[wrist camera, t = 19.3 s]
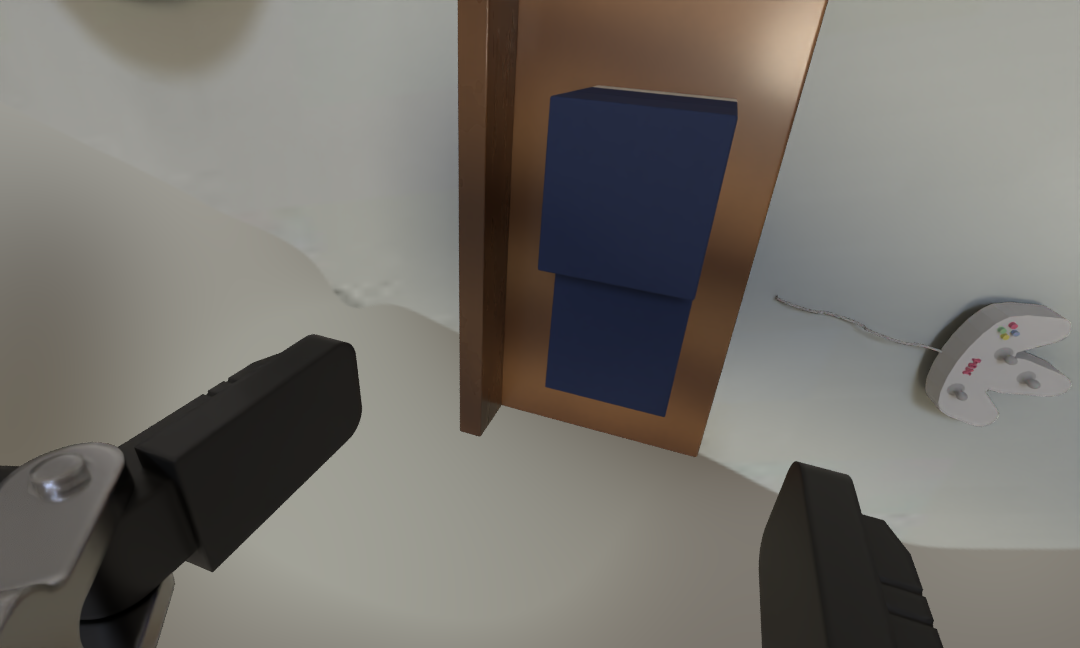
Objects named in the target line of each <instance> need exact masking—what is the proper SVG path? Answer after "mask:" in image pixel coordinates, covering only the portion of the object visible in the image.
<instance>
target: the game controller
mask: <svg viewBox="0 0 1080 648" xmlns="http://www.w3.org/2000/svg"><path fill="white" fill-rule="evenodd" d="M777 296H778V295H777ZM776 299H777V300H779V301H781V302H783V303H786V304H788V305H791V306H793V307H796V308H799V309H802V310H805V311H809V312H813V313H825V314H829V315H832V316H835V317H839V318H842V319H844V320H847V321H850V322H852V323H855V324H857V325H859V326H861V327H863V328H864V329H865V330H866V331H868V332H870V333H873V334H875V335H877V336H880V337H883V338H885V339H888V340H891V341H894V342H897V343H901V344H905V345H910V346H911V345H917V346H921V347H925V348H928V349H931V350H934V351H937V352H939V354H938V355H937V357H936V359H935V360H934V362H933V364H932V366H931V368H930V371H929V373H928V375H927V380H926V385H925V389H926V393H927V395H928V397H929V398H930V399H931V400H932V401H933V403H934V404H935V405H936V406H937V407H938V408H939V410H940V411H942V412H943V413H945V414H946V415H947V416H949V417H951V418H954V419H957V420H960V421H962V422H965V423H968V424H971V425H973V426H977V427H982V426H987V425H989V424H991V423H993V422H994V421H996V419H997V418H998V416H999V412H998V410H997V408H996V407H995V405H994V404H993V402H992V401H991V399H990V398H989V396H988V395H987V393H986V391H988V390H989V389H990V390H992V391H995V392H999V393H1006V394H1019V395H1033V396H1046V397H1052V396H1058V395H1061V394H1064V393H1066V392H1067V391H1068V390H1069V389H1070V388H1071V385H1072V384H1071V381H1070V379H1069V378H1068V377H1066V376H1065V375H1064V374H1062V373H1061V372H1060V371H1058V370H1057V369H1056V368H1055V367H1053V366H1052V365H1051V364H1049V363H1048V362H1047V361H1045V360H1043V359H1040V358H1038V357H1036V356H1033V355H1031V354H1029V353H1026V352H1024V351H1025V350H1029V349H1033V348H1037V347H1041V346H1044V345H1048V344H1052V343H1056V342H1059V341H1061V340H1063V339H1064V338H1066V337H1067V336H1068V335H1069V333H1070V332H1071V329H1072V324H1071V323H1070V322H1069V321H1068V320H1067V319H1065V318H1064V317H1062V316H1061V315H1059V314H1057V313H1056V312H1054V311H1053V310H1051V309H1050V308H1048V307H1047V306H1044V305H1036V304H1025V303H1014V302H1005V303H995V304H990V305H988V306H986V307H984V308H982V309H980V310H979V311H977V312H976V313H975V314H974V315H972V316H971V317H970V318H968V319H967V320H966V321H965V322H964V323H963V324H962V325H961V326H960V327H959V328H958V329H957V330H956V331H955V332H954V333H953V334H952V336H951V337H950V338H949V340H948V341H947V342H946V343H945V345H944V346H943V347H942V349H941V350H939V349H936V348H933V347H930V346H927V345H923V344H919V343H907V342H903V341H899V340H896V339H893V338H890V337H887V336H884V335H882V334H879V333H877V332H874V331H872V330H870V329H868V328H866V327H865V325H863V324H861V323H859V322H856V321H854V320H851V319H849V318H846V317H843V316H840V315H837V314H834V313H830V312H826V311H815V310H811V309H807V308H804V307H801V306H798V305H795V304H792V303H789V302H787V301H785V300H782V299H780V298H778V297H776Z"/></svg>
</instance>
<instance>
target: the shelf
mask: <svg viewBox="0 0 1080 648" xmlns="http://www.w3.org/2000/svg"><path fill="white" fill-rule="evenodd" d="M827 3H828V0H458V130H459V319H460V431H462V432H466V433H469V434H473V435H476V436H481V435H482V433H483V432H484V430H485V429H486V428H487V426H488V425H489V423H490V422H491V420H492V419H493V417H494V416H495V414H496V413H497V411H498V409H499V408H500V407H501V405H504V406H508V407H511V408H515V409H519V410H522V411H526V412H530V413H534V414H537V415H541V416H545V417H548V418H552V419H556V420H560V421H564V422H567V423H571V424H574V425H578V426H582V427H585V428H589V429H593V430H596V431H600V432H604V433H608V434H611V435H615V436H619V437H622V438H626V439H630V440H634V441H638V442H641V443H645V444H648V445H652V446H656V447H660V448H663V449H667V450H671V451H674V452H678V453H682V454H685V455H689V456H693V457H696V456H697V455H698V452H699V448H700V445H701V441H702V438H703V434H704V431H705V427H706V424H707V420H708V417H709V413H710V410H711V406H712V403H713V399H714V396H715V393H716V389H717V386H718V382H719V379H720V375H721V372H722V368H723V365H724V361H725V358H726V354H727V351H728V347H729V344H730V340H731V337H732V333H733V330H734V326H735V323H736V319H737V316H738V312H739V309H740V306H741V302H742V299H743V295H744V292H745V288H746V285H747V281H748V278H749V274H750V271H751V267H752V264H753V260H754V257H755V253H756V250H757V246H758V243H759V239H760V236H761V232H762V229H763V226H764V222H765V219H766V215H767V212H768V208H769V205H770V201H771V198H772V194H773V191H774V187H775V184H776V180H777V177H778V173H779V170H780V166H781V163H782V159H783V156H784V152H785V149H786V146H787V142H788V139H789V135H790V132H791V128H792V125H793V121H794V118H795V114H796V111H797V107H798V104H799V100H800V97H801V93H802V90H803V86H804V83H805V79H806V76H807V72H808V69H809V65H810V62H811V59H812V55H813V52H814V48H815V45H816V41H817V38H818V34H819V31H820V27H821V24H822V20H823V17H824V13H825V10H826V6H827ZM599 85H600V86H610V87H620V88H630V89H640V90H650V91H660V92H670V93H680V94H690V95H700V96H710V97H720V98H730V99H736V100H737V108H738V120H737V124H736V128H735V132H734V137H733V141H732V145H731V149H730V153H729V158H728V162H727V166H726V170H725V174H724V179H723V183H722V187H721V191H720V195H719V200H718V204H717V208H716V212H715V216H714V221H713V225H712V229H711V233H710V237H709V242H708V246H707V250H706V254H705V258H704V263H703V267H702V271H701V275H700V279H699V284H698V288H697V292H696V296H695V299H694V300H693V301H692V305H691V310H690V314H689V318H688V322H687V327H686V331H685V335H684V339H683V343H682V348H681V352H680V356H679V360H678V365H677V369H676V373H675V377H674V382H673V386H672V390H671V394H670V399H669V403H668V407H667V411H666V416H665V417H661V416H657V415H653V414H649V413H645V412H641V411H637V410H633V409H629V408H625V407H621V406H617V405H614V404H610V403H606V402H602V401H598V400H594V399H590V398H586V397H582V396H578V395H574V394H570V393H566V392H563V391H559V390H555V389H551V388H547V387H545V381H546V370H547V359H548V348H549V338H550V327H551V316H552V305H553V294H554V283H555V273H550V272H545V271H540V270H538V257H539V243H540V230H541V216H542V202H543V189H544V175H545V161H546V148H547V134H548V120H549V107H550V97H551V96H553V95H557V94H562V93H567V92H571V91H575V90H580V89H584V88H589V87H594V86H599Z"/></svg>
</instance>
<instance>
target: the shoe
mask: <svg viewBox="0 0 1080 648" xmlns="http://www.w3.org/2000/svg"><path fill="white" fill-rule="evenodd" d="M737 120H738V108H737V100H736V99H730V98H720V97H710V96H700V95H690V94H680V93H670V92H660V91H650V90H640V89H630V88H620V87H610V86H600V85H599V86H594V87H589V88H584V89H580V90H575V91H571V92H567V93H562V94H557V95H553V96H551V97H550V107H549V120H548V134H547V148H546V161H545V175H544V189H543V202H542V216H541V230H540V243H539V257H538V270H540V271H545V272H550V273H555V283H554V294H553V305H552V316H551V327H550V338H549V348H548V359H547V370H546V381H545V387H547V388H551V389H555V390H559V391H563V392H566V393H570V394H574V395H578V396H582V397H586V398H590V399H594V400H598V401H602V402H606V403H610V404H614V405H617V406H621V407H625V408H629V409H633V410H637V411H641V412H645V413H649V414H653V415H657V416H661V417H665V416H666V411H667V407H668V403H669V399H670V394H671V390H672V386H673V382H674V377H675V373H676V369H677V365H678V360H679V356H680V352H681V348H682V343H683V339H684V335H685V331H686V327H687V322H688V318H689V314H690V310H691V305H692V301H693V300H694V299H695V296H696V292H697V288H698V284H699V279H700V275H701V271H702V267H703V263H704V258H705V254H706V250H707V246H708V242H709V237H710V233H711V229H712V225H713V221H714V216H715V212H716V208H717V204H718V200H719V195H720V191H721V187H722V183H723V179H724V174H725V170H726V166H727V162H728V158H729V153H730V149H731V145H732V141H733V137H734V132H735V128H736V124H737Z"/></svg>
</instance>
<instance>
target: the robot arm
mask: <svg viewBox="0 0 1080 648" xmlns="http://www.w3.org/2000/svg"><path fill="white" fill-rule="evenodd" d="M361 413H362V404H361V395H360V386H359V378H358V369H357V360H356V353H355V350H354V348H353V346H352V345H351V344H349V343H346V342H343V341H339V340H335V339H331V338H327V337H324V336H320V335H315V334H313V335H308V336H306V337H305V338H303V339H301V340H300V341H298V342H297V343H295V344H294V345H292V346H290V347H289V348H287V349H286V350H284V351H283V352H281V353H279V354H276V355H273V356H270V357H268V358H265V359H262V360H259V361H256V362H254V363H252V364H250V365H249V366H247V367H245V368H244V369H242V370H241V371H239V372H237V373H236V374H234V375H233V376H231V377H229V378H228V381H227V382H225V381H223V382H221V383H220V384H218V385H217V386H215V387H213V388H212V389H210V390H209V391H208V394H207V395H204V394H202V395H201V396H199V397H198V398H196V399H194V400H193V401H191V402H189V403H188V404H186V405H185V406H183V407H182V408H180V409H178V410H177V411H175V412H173V413H172V414H170V415H169V416H167V417H165V418H164V419H162V420H161V421H159V422H157V423H156V424H154V425H153V426H151V427H150V428H148V429H146V430H145V431H143V432H142V433H140V434H138V435H137V436H135V437H134V438H132V439H130V440H129V441H127V442H125V443H124V444H122V445H120V446H119V447H116V446H115V445H112V444H108V443H102V442H88V443H80V444H74V445H70V446H66V447H62V448H59V449H56V450H53V451H50V452H48V453H45V454H43V455H40V456H38V457H36V458H34V459H32V460H30V461H28V462H27V463H25V464H23V465H21V466H0V648H156V646H157V643H158V640H159V637H160V633H161V630H162V627H163V623H164V620H165V617H166V613H167V610H168V607H169V603H170V600H171V596H172V593H173V590H174V585H175V583H174V576H173V573H172V572H173V571H175V570H176V569H177V568H178V567H179V566H180V565H181V564H182V563H183V562H185V561H187V562H190V563H192V564H194V565H197V566H199V567H201V568H204V569H206V570H209V571H211V572H214V571H215V570H216V569H217V567H218V566H220V565H221V564H222V563H223V562H224V561H225V560H226V559H227V558H228V557H229V556H230V555H231V554H232V553H233V552H234V551H235V550H236V549H237V548H238V547H239V546H240V545H241V544H242V543H243V542H244V541H245V540H246V539H247V538H248V537H249V536H250V535H251V534H252V533H253V532H254V531H255V530H256V529H258V528H259V527H260V525H262V524H263V523H264V522H265V521H266V520H267V519H268V518H269V517H270V516H271V515H272V514H273V513H274V512H275V511H276V510H277V509H278V508H279V507H280V506H281V505H282V504H283V503H284V502H285V501H286V500H287V499H288V498H289V497H290V496H291V495H292V494H293V493H294V492H295V491H296V490H297V489H298V488H299V487H300V486H302V485H303V484H304V482H306V481H307V480H308V479H309V478H310V477H311V476H312V475H313V474H314V473H315V472H316V471H317V470H318V469H319V468H320V467H321V466H322V465H323V464H324V463H325V462H326V461H327V460H328V459H329V458H330V457H331V456H332V455H333V454H334V453H335V452H336V451H337V450H338V449H339V448H340V447H341V446H342V445H343V444H344V443H345V442H346V441H347V440H348V439H349V438H350V437H351V436H352V435H353V433H354V432H355V430H356V429H357V426H358V424H359V421H360V418H361ZM759 584H760V607H761V608H760V609H761V631H762V632H761V633H762V648H943V645H942V643H941V640H940V637H939V634H938V631H937V629H935V628H933V621H934V620H933V617H932V614H931V611H930V608H929V606H928V603H927V600H926V597H923V596H922V591H923V589H922V586H921V583H920V580H919V577H918V574H917V571H916V568H915V566H914V563H913V560H912V557H911V554H910V553H909V552H908V550H907V549H906V548H905V547H904V545H903V544H902V543H901V541H900V540H899V539H898V538H897V536H896V535H895V534H894V533H893V531H892V530H891V529H890V527H889V526H888V525H887V524H886V522H885V521H884V520H880V519H877V518H873V517H870V516H866V515H862V513H861V509H860V506H859V502H858V498H857V495H856V491H855V488H854V484H853V481H852V479H851V477H850V476H849V475H846V474H843V473H839V472H835V471H831V470H827V469H824V468H820V467H816V466H812V465H808V464H804V463H801V462H797V461H796V462H794V463H793V464H792V465H791V467H790V468H789V470H788V473H787V475H786V478H785V480H784V483H783V485H782V488H781V490H780V492H779V495H778V497H777V500H776V502H775V505H774V507H773V510H772V512H771V515H770V518H769V520H768V522H767V525H766V528H765V530H764V534H763V537H762V542H761V547H760V555H759Z"/></svg>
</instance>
